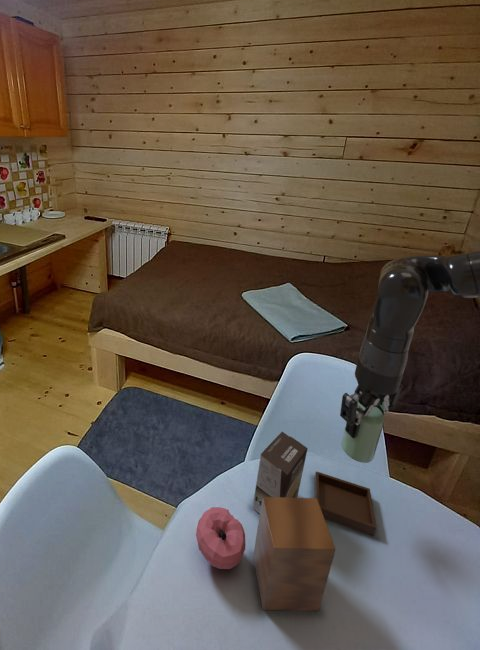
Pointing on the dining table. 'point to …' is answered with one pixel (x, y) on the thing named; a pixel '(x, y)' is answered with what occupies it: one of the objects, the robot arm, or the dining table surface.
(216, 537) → the apple
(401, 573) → the dining table surface
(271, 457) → the coffee box
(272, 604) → the stand
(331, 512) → the tray
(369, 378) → the robot arm
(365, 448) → the pale green cylinder
